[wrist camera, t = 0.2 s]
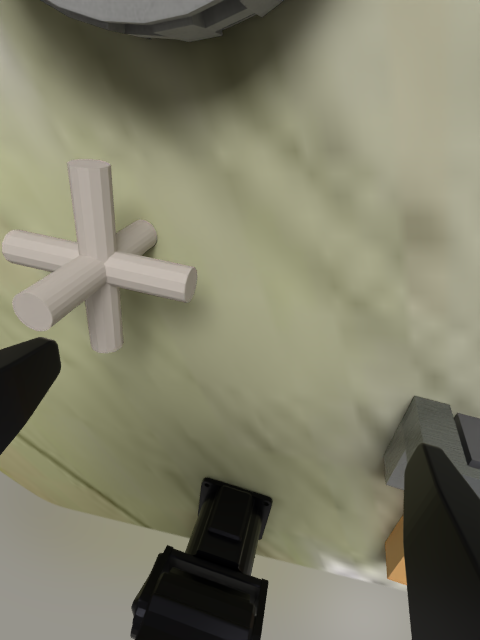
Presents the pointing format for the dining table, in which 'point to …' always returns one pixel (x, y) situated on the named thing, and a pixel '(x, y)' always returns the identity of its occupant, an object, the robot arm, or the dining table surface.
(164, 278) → the pipe connector
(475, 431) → the plug
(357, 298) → the dining table surface
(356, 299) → the dining table surface
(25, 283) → the dining table surface
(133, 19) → the grey round bowl
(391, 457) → the frame
